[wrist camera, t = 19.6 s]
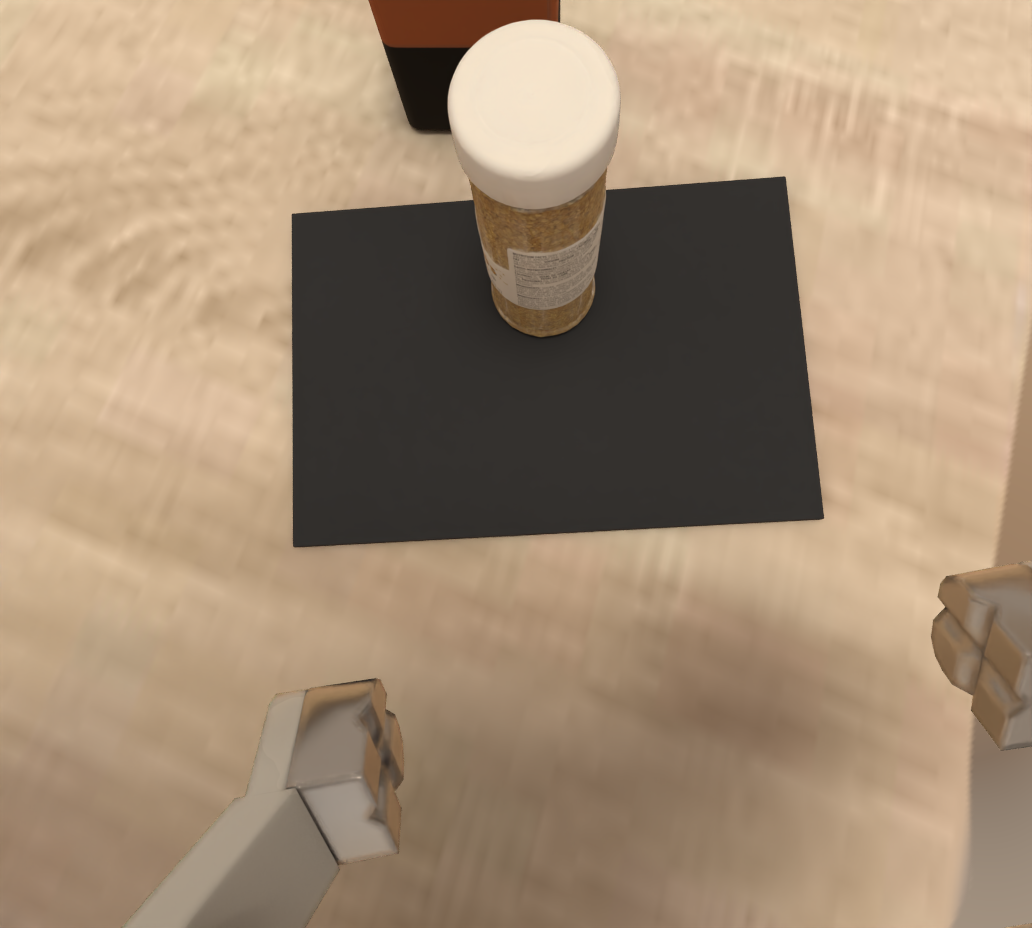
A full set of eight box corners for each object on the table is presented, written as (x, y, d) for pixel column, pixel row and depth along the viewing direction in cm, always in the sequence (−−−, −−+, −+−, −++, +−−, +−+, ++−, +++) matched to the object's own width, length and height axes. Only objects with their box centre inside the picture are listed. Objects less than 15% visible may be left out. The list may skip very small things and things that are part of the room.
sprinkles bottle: (489, 245, 33) (440, 19, 19) (592, 237, 32) (615, 2, 19) (494, 345, 32) (448, 181, 19) (600, 337, 32) (630, 165, 18)
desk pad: (296, 547, 32) (292, 546, 31) (294, 217, 34) (291, 213, 33) (821, 519, 30) (824, 518, 30) (783, 180, 33) (785, 176, 32)
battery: (557, 135, 34) (556, -48, 24) (409, 134, 34) (348, -46, 24) (560, 49, 34) (561, -164, 24) (415, 49, 35) (358, -161, 25)
